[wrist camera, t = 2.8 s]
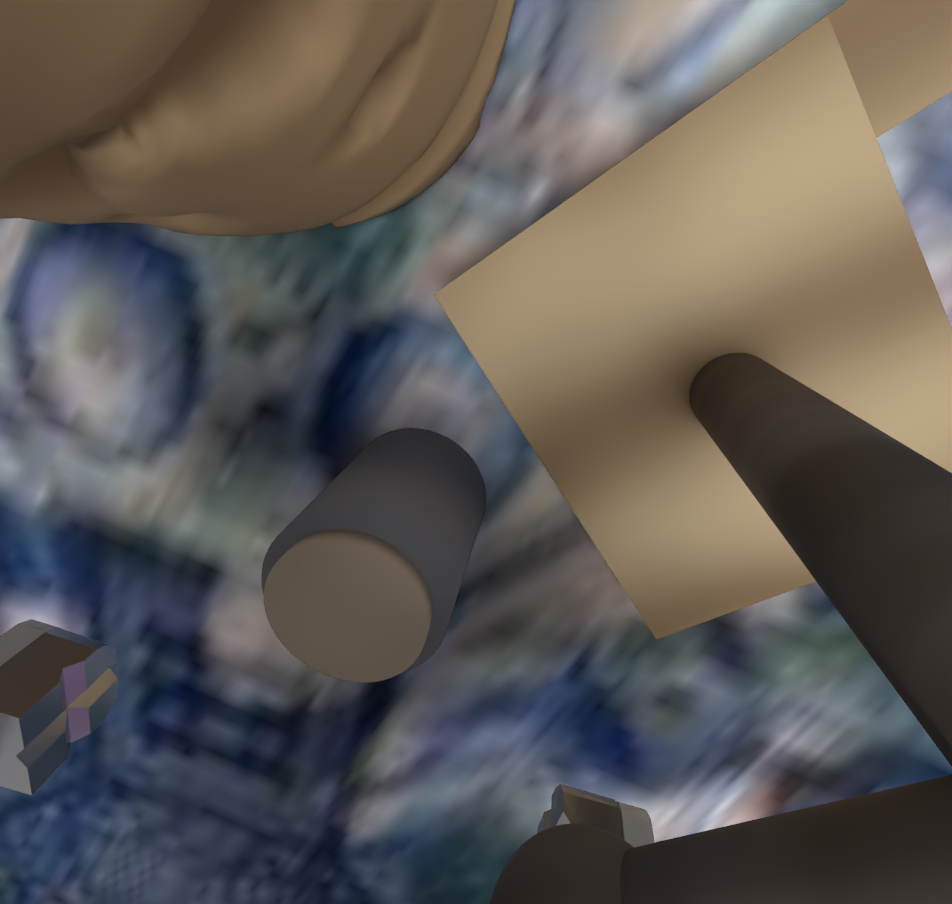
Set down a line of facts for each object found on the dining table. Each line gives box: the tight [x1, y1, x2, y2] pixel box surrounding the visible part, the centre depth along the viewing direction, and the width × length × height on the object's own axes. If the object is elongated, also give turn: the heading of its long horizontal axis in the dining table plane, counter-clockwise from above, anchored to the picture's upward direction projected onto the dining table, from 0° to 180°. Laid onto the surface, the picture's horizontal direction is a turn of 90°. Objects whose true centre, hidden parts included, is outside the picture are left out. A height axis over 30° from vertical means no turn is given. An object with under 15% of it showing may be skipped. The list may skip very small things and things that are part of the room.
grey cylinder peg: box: [262, 428, 486, 683], centre depth 15 cm, size 5×5×7 cm
